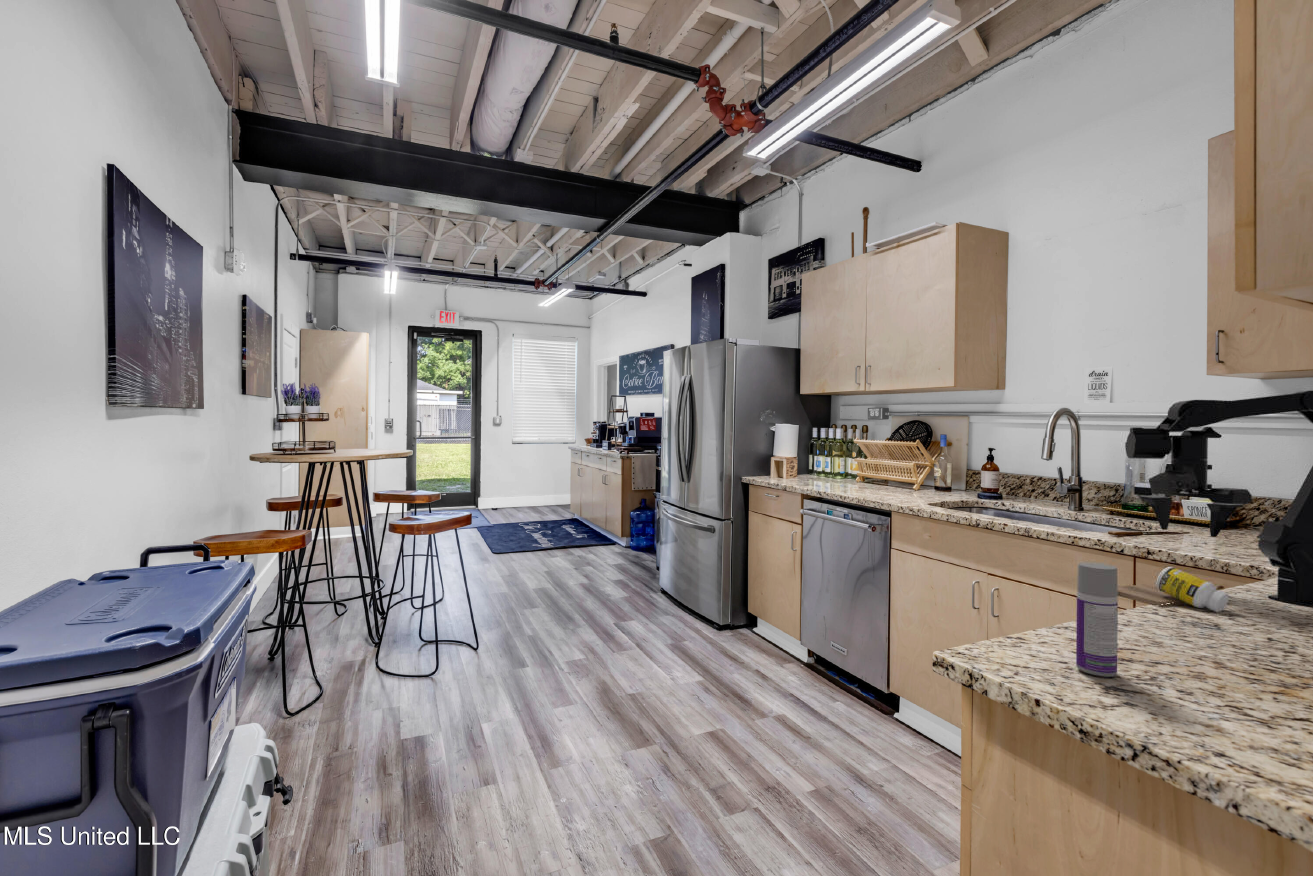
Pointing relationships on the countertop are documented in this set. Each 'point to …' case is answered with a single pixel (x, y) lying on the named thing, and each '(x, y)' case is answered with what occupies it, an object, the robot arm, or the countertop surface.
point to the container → (1097, 619)
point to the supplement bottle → (1191, 589)
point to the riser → (1148, 595)
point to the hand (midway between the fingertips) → (1188, 533)
